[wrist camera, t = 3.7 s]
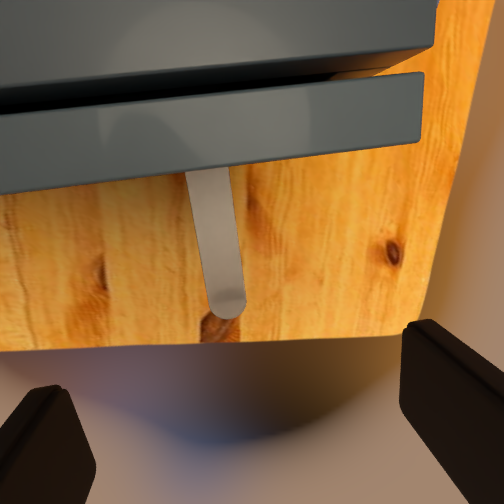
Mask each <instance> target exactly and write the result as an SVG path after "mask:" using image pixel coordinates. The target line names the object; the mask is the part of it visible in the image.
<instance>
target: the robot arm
mask: <svg viewBox="0 0 504 504" xmlns="http://www.w3.org/2000/svg"><path fill="white" fill-rule="evenodd" d="M399 404H400V408H401V410H402V412H403V414H404V416H405V417H406V419H407V420H408V421H409V423H410V424H411V425H412V427H413V428H414V429H415V431H416V432H417V434H418V435H419V436H420V438H421V439H422V440H423V442H424V443H425V444H426V446H427V447H428V448H429V450H430V451H431V452H432V454H433V455H434V457H435V458H436V459H437V461H438V462H439V463H440V465H441V466H442V467H443V469H444V470H445V471H446V473H447V474H448V476H449V477H450V478H451V480H452V481H453V482H454V484H455V485H456V486H457V488H458V489H459V490H460V492H461V493H462V494H463V496H464V497H465V499H466V500H467V501H468V503H469V504H504V372H502V371H501V370H499V369H498V368H497V367H496V366H494V365H493V364H492V363H490V362H489V361H488V360H486V359H485V358H484V357H482V356H481V355H480V354H478V353H477V352H476V351H474V350H473V349H471V348H470V347H469V346H467V345H466V344H465V343H463V342H462V341H460V340H459V339H458V338H457V337H455V336H454V335H452V334H451V333H450V332H449V331H447V330H446V329H445V328H443V327H442V326H440V325H439V324H438V323H436V322H435V321H434V320H432V319H424V320H419V321H413V322H410V323H408V325H407V328H405V329H404V330H403V333H402V352H401V373H400V393H399ZM95 474H96V462H95V459H94V457H93V454H92V451H91V449H90V446H89V443H88V441H87V438H86V436H85V433H84V431H83V428H82V425H81V423H80V420H79V418H78V415H77V413H76V410H75V407H74V405H73V402H72V400H71V397H70V394H69V392H68V391H67V390H66V389H62V388H61V386H59V385H50V386H45V387H39V388H34V389H32V390H30V391H29V392H28V393H27V395H26V396H25V397H24V398H23V400H22V401H21V402H20V403H19V405H18V406H17V407H16V409H15V410H14V411H13V412H12V414H11V415H10V416H9V417H8V419H7V420H6V421H5V422H4V424H3V425H2V426H1V428H0V504H85V502H86V500H87V497H88V494H89V492H90V489H91V486H92V483H93V481H94V478H95Z"/></svg>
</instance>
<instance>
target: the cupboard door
mask: <svg viewBox="0 0 504 504" xmlns="http://www.w3.org/2000/svg"><path fill="white" fill-rule="evenodd" d="M424 76H425V75H424V73H423V72H411V73H401V74H391V75H382V76H372V77H362V78H353V79H343V80H333V81H324V82H314V83H304V84H295V85H285V86H275V87H266V88H256V89H246V90H237V91H227V92H217V93H208V94H198V95H188V96H179V97H169V98H159V99H150V100H140V101H130V102H121V103H111V104H101V105H92V106H82V107H72V108H63V109H53V110H43V111H34V112H24V113H14V114H5V115H0V195H8V194H16V193H24V192H32V191H40V190H48V189H56V188H64V187H71V186H79V185H87V184H95V183H103V182H111V181H119V180H127V179H135V178H143V177H151V176H159V175H167V174H174V173H182V172H185V176H186V181H187V187H188V192H189V198H190V203H191V209H192V214H193V220H194V225H195V231H196V236H197V242H198V247H199V253H200V258H201V264H202V269H203V275H204V280H205V286H206V291H207V297H208V302H209V307H210V310H211V311H212V313H213V314H214V315H216V316H217V317H219V318H222V319H232V318H235V317H237V316H239V315H240V314H241V313H242V312H243V311H244V309H245V307H246V293H245V286H244V278H243V271H242V263H241V256H240V249H239V241H238V234H237V227H236V219H235V212H234V204H233V197H232V190H231V182H230V175H229V168H228V167H230V166H238V165H246V164H254V163H262V162H270V161H278V160H285V159H293V158H301V157H309V156H317V155H325V154H333V153H341V152H349V151H357V150H365V149H373V148H381V147H388V146H396V145H404V144H412V143H417V142H419V141H420V139H421V124H422V108H423V92H424Z"/></svg>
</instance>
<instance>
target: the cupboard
mask: <svg viewBox="0 0 504 504" xmlns="http://www.w3.org/2000/svg"><path fill="white" fill-rule="evenodd" d="M436 7H437V0H0V115H5V114H14V113H24V112H34V111H43V110H53V109H63V108H72V107H82V106H92V105H101V104H111V103H121V102H130V101H140V100H150V99H159V98H169V97H179V96H188V95H198V94H208V93H217V92H227V91H237V90H246V89H256V88H266V87H275V86H285V85H295V84H304V83H314V82H324V81H333V80H343V79H353V78H362V77H371V76H373V75H375V74H377V73H380V72H382V71H384V70H386V69H388V68H390V67H391V66H394V65H396V64H398V63H400V62H402V61H404V60H406V59H408V58H410V57H412V56H415V55H417V54H419V53H421V52H423V51H425V50H427V49H429V48H431V47H432V46H433V44H434V36H435V21H436Z"/></svg>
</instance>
